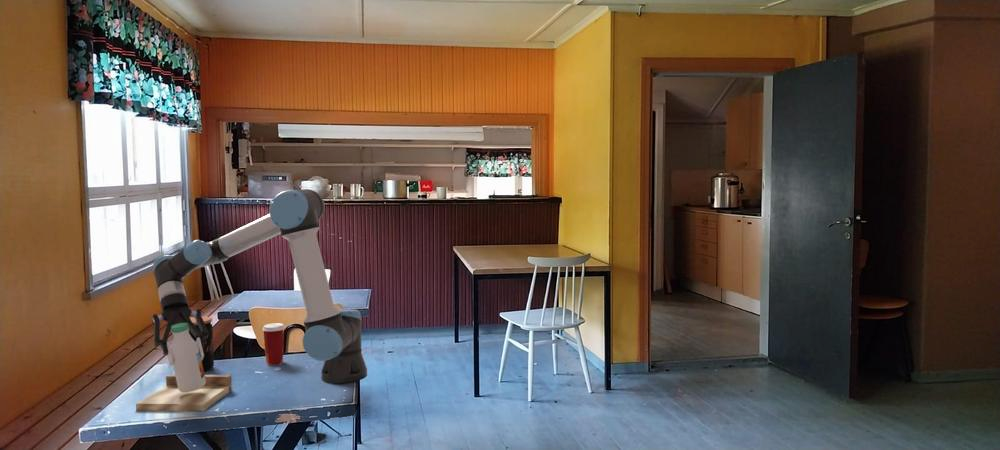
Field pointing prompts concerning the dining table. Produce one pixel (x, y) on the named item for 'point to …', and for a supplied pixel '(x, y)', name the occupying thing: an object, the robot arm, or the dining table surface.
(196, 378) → the milk bottle
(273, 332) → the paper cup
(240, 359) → the dining table surface
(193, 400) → the light wooden flat tray
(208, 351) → the coffee jar
